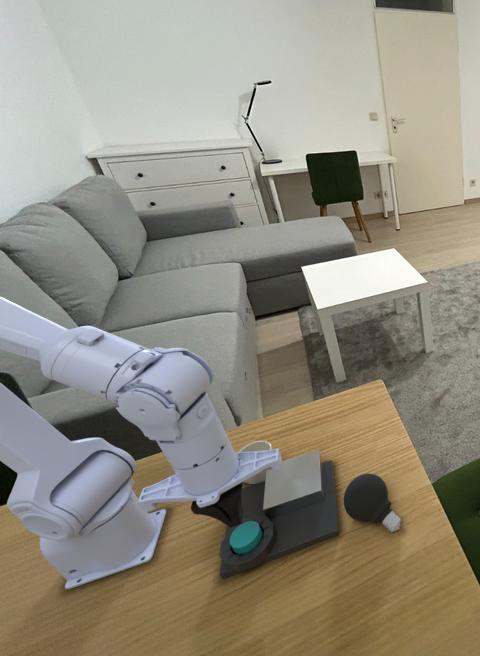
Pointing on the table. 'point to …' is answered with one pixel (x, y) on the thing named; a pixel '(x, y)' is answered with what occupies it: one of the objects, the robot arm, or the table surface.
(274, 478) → the plate
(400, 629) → the table surface
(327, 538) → the scale
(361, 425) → the table surface
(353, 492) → the light bulb
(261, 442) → the bowl
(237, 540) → the tare button
